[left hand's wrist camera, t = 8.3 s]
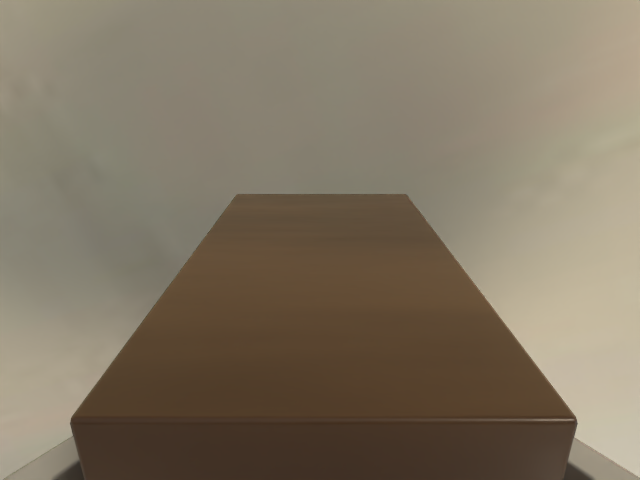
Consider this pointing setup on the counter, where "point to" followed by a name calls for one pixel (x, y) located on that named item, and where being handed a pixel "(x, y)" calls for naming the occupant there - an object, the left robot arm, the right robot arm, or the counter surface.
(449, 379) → the bar
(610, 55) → the counter surface
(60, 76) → the counter surface
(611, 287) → the counter surface
